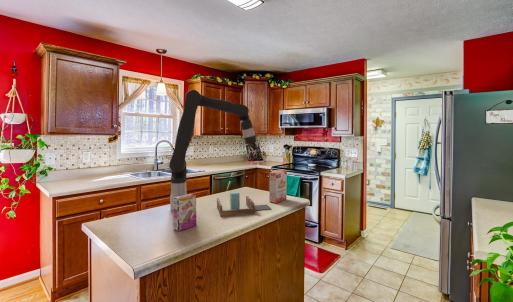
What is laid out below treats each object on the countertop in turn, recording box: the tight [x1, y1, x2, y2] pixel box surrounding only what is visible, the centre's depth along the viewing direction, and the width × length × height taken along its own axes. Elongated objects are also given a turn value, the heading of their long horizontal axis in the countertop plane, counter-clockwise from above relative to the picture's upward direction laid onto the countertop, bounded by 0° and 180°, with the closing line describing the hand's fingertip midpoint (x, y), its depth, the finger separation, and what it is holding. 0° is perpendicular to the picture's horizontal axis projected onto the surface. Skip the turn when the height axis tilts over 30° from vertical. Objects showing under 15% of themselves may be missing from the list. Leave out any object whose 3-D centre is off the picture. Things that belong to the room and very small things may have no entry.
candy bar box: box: [172, 193, 197, 232], centre depth 135 cm, size 11×5×16 cm, turn 141°
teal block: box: [229, 191, 241, 210], centre depth 165 cm, size 5×5×11 cm
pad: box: [254, 203, 272, 212], centre depth 169 cm, size 10×10×1 cm
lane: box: [216, 195, 256, 218], centre depth 164 cm, size 19×20×6 cm
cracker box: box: [268, 169, 288, 204], centre depth 185 cm, size 14×6×21 cm, turn 143°
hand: (255, 159), depth 174 cm, fingers open, 8 cm apart
